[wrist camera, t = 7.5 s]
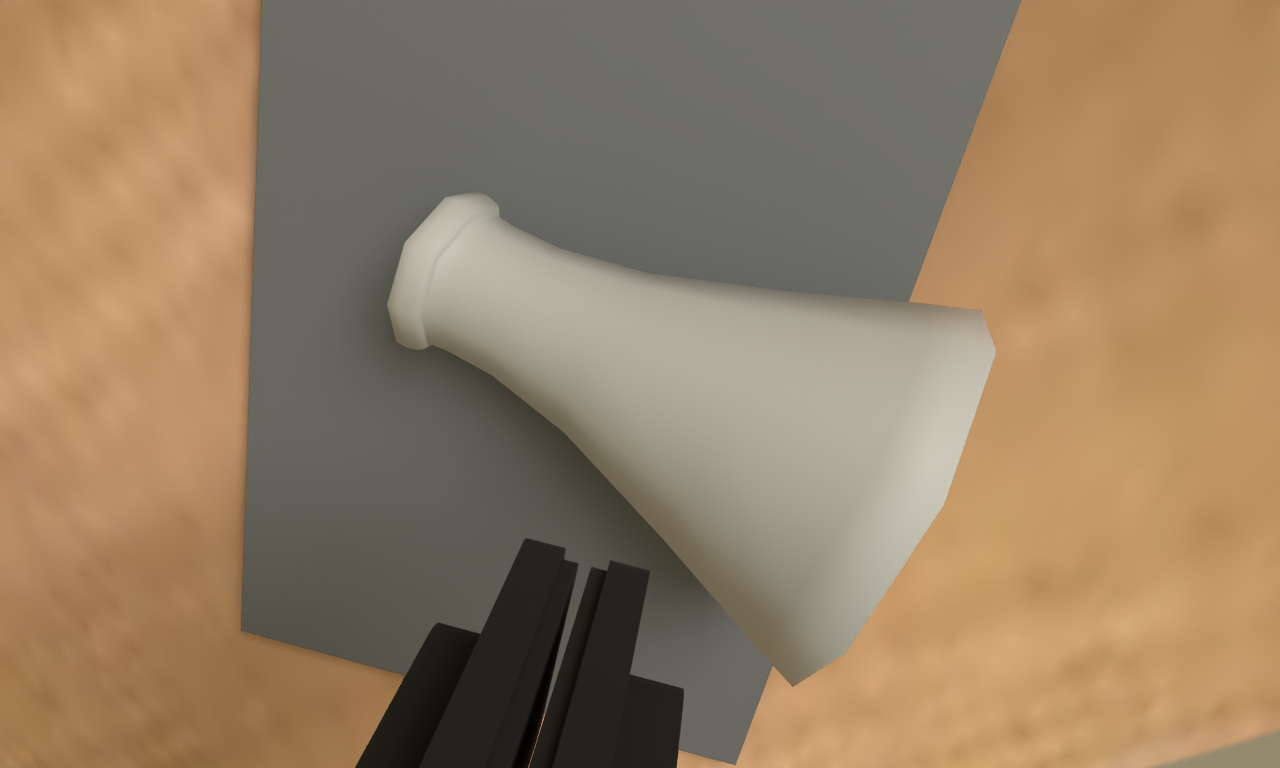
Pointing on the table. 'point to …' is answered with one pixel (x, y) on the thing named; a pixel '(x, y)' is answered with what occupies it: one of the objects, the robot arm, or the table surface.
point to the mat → (569, 219)
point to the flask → (720, 411)
